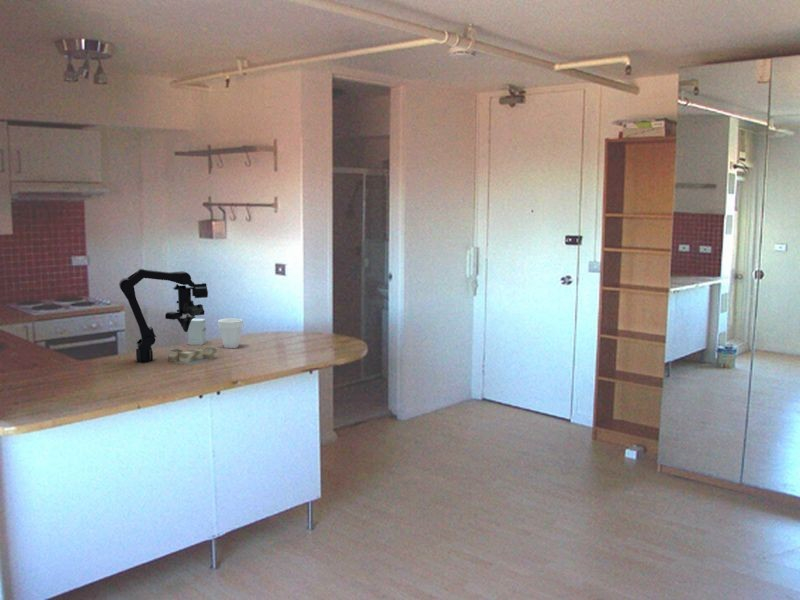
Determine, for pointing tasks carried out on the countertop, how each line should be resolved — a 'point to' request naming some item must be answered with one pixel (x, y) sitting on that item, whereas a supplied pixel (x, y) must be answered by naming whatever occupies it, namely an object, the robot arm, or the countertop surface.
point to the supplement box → (197, 332)
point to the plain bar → (191, 355)
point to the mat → (194, 361)
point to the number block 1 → (174, 355)
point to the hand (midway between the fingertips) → (185, 331)
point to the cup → (230, 331)
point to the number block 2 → (210, 353)
